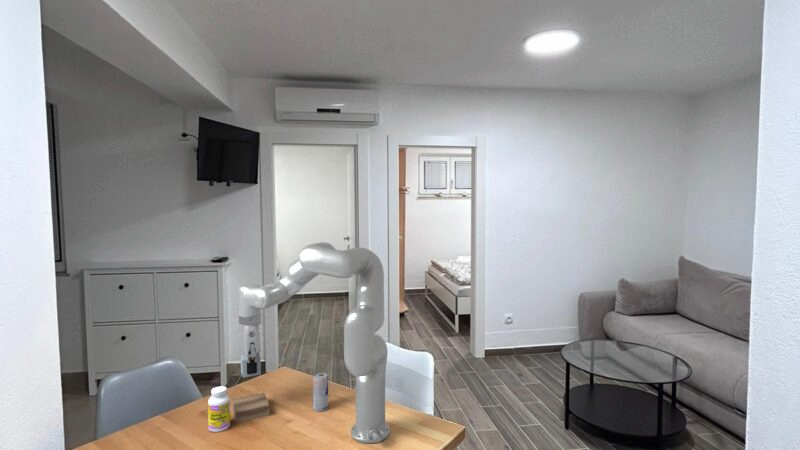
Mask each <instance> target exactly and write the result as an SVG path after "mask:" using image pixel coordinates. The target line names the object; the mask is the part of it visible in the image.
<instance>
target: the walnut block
mask: <svg viewBox="0 0 800 450" xmlns="http://www.w3.org/2000/svg"><path fill="white" fill-rule="evenodd" d="M269 403H270V402H269V401H268V398H267V396H266V394H265V393H264V392H262V393H256V394H252V395H248V396H247V395H246V396H242V397H237V398H236V397H235V398H232V411H233V416H234V420H235V423H236V424H238V423H244V422H248V421H252V420H257V419H261V418H267V417H270V414H271V412H270V411H271V410H270V409H271V407H270V404H269Z"/></svg>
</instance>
